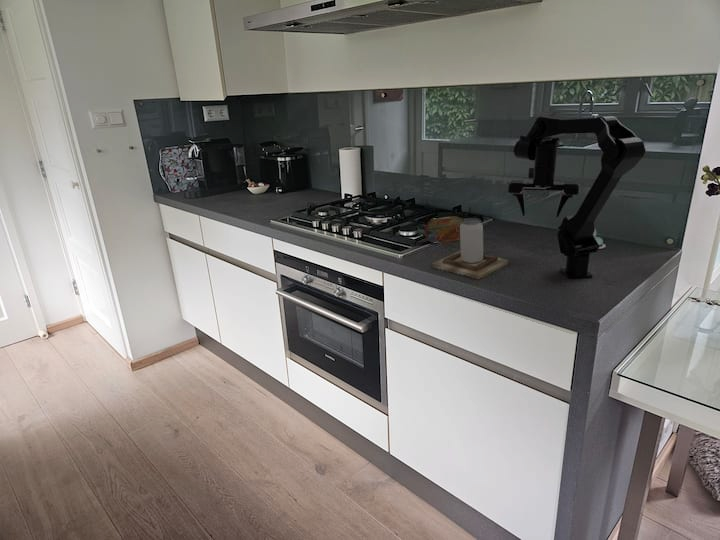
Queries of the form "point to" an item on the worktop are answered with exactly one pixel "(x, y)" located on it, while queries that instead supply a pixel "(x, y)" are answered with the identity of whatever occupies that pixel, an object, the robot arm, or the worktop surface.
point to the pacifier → (599, 240)
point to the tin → (443, 229)
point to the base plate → (470, 265)
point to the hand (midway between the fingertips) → (540, 216)
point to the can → (471, 240)
